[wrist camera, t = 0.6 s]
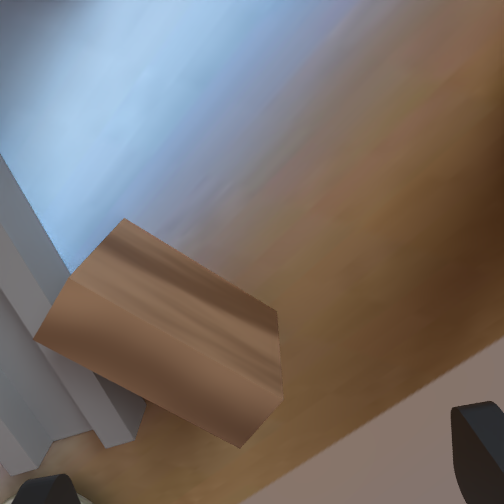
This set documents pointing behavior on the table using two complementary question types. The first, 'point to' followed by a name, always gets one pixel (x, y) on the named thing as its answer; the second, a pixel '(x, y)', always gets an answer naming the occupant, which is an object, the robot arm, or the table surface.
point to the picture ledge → (44, 351)
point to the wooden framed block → (170, 334)
